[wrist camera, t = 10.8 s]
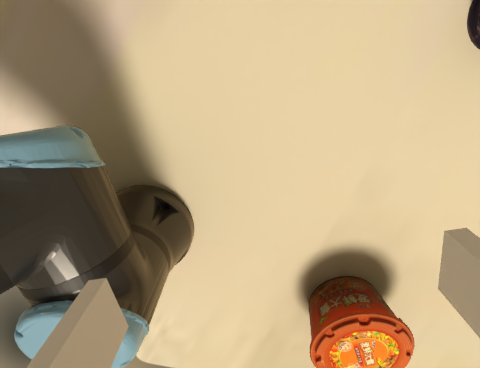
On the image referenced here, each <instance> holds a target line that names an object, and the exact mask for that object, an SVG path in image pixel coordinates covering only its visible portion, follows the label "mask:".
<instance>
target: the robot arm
mask: <svg viewBox="0 0 480 368" xmlns="http://www.w3.org/2000/svg"><path fill="white" fill-rule="evenodd" d="M105 166H106V165H105V163H104V161H102V160H101V159H100V157H99V155H98V153H97V151H96V149H95V147H94V145H93V143H92V141H91V139H90V137H89V136H88V135H87V133H86V132H84V131H83V130H82V129H80V128H78V127H75V126H58V127H51V128H45V129H38V130H32V131H26V132H20V133H14V134H7V135H1V136H0V294H2V293H3V292H5V291H7V290H9V289H10V288H12V287H13V286H15V285H16V286H18V288H19V289H20V291H21V293H22V294H23V296H24V297H25V299H26V300H27V301H28V303H29V307H30V308H29V309H28V310H25V311H24V312H23V313H22V314H21V316H20V317H19V322H18V323H17V325H16V330H15V333H14V335H15V341H16V343H17V345H18V347H19V348H20V349H21V350H22V352H23V353H24V354H25V355H26V356H28V357H29V358H30V359H32V361H31V362H30V364H29V365H28V367H27V368H123V367H124V366H126V365H127V364H128V363H129V362H130V361H131V360H132V359H133V358H134V357H135V355H136V354H137V352H138V350H139V348H140V346H141V344H142V342H143V339H144V337H145V336H146V335H147V334H148V331H149V324H150V322H151V319H152V316H153V314H154V311H155V308H156V306H157V303H158V300H159V298H160V295H161V292H162V290H163V287H164V284H165V282H166V279H167V276H168V273H169V272H170V270H171V269H172V268H173V267H174V265H176V264H177V263H178V262H180V261H181V260H182V259H183V258H184V256H185V255H186V254H187V252H188V250H189V248H190V245H191V242H192V239H193V235H194V224H193V220H192V217H191V215H190V213H189V211H188V209H187V208H186V206H185V205H184V204H183V203H182V202H181V201H180V200H179V199H178V198H177V197H175V196H174V195H173V194H171V193H169V192H167V191H165V190H163V189H160V188H157V187H153V186H133V187H129V188H126V189H124V190H122V191H120V192H119V193H117V194H116V192H115V190H114V187H113V185H112V183H111V180H110V178H109V176H108V173H107V171H106V169H105ZM438 289H439V290H440V291H441V293H442V294H443V295H444V296H445V297H446V299H447V300H448V301H449V302H450V303H451V304H452V306H453V307H454V308H455V309H456V310H457V312H458V313H459V314H460V315H461V316H462V318H463V319H464V320H465V321H466V322H467V323H468V325H469V326H470V327H471V328H472V329H473V331H474V332H475V333H476V334H477V335H478V337H479V338H480V238H479V237H478V236H476V235H475V234H474V233H472V232H471V231H470V230H469V229H467V228H462V229H455V230H448V231H444V240H443V248H442V257H441V266H440V275H439V284H438Z"/></svg>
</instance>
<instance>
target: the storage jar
mask: <svg viewBox="0 0 480 368" xmlns="http://www.w3.org/2000/svg"><path fill="white" fill-rule="evenodd" d="M467 28H468V33H469V37H470V39H471V41H472V42H473V44H474V45H475V46H476V47H477V48H478V49H480V0H473V1H472V4H471V6H470V9H469V13H468V20H467Z"/></svg>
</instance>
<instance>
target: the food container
mask: <svg viewBox="0 0 480 368" xmlns="http://www.w3.org/2000/svg"><path fill="white" fill-rule="evenodd" d="M309 313H310V325H311V336H312V340H311V344H310V357H311V360H312V362H313V364H314V366H315V367H316V368H405V367H406V366H407V364H408V363H409V361H410V359H411V355H412V353H413V349H414V338H413V334H412V333H411V331H410V329H409V328H408V327H407V325H406V324H405V323H403V321H401V319H400V318H399V319H398V318H397V317H396V316H395V314H394V313H393V312H392V310H391V309H390V308H389V306H388V305H387V304H386V303H385V301H384V300H383V298H382V297H381V296H380V294H379V293H378V292H377V290H376V289H375V288H374V287H373V286H372V285H371V284H370V283H369V282H367V281H365V280H363V279H361V278H357V277H338V278H334V279H331V280H329V281H326V282H325V283H323V284H321V285H320V286H319V287H318V288H317V289H316V290H315V291H314V293H313V294H312V296H311V298H310V301H309Z"/></svg>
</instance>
